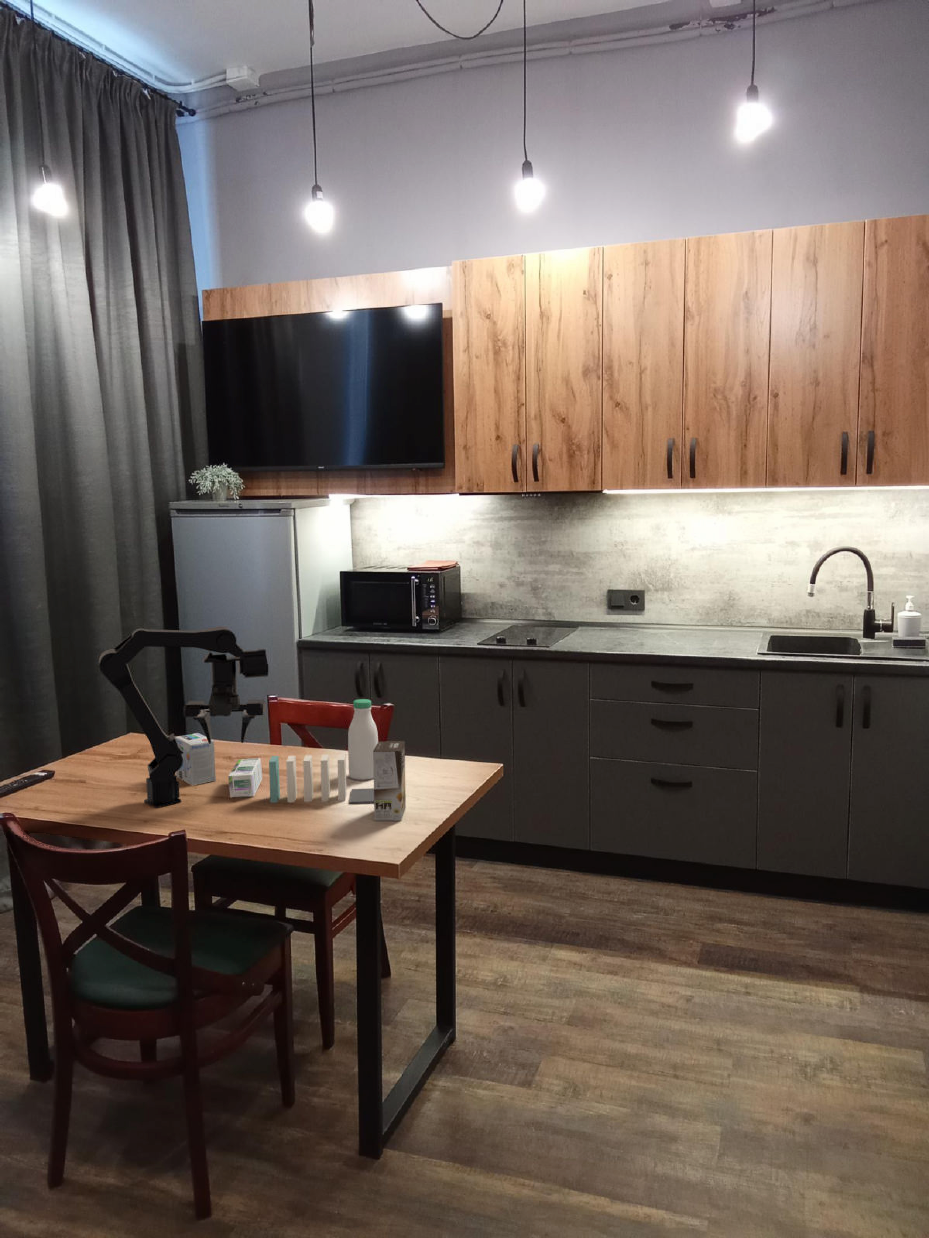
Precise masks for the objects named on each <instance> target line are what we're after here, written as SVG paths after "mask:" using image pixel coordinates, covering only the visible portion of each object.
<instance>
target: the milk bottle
mask: <svg viewBox="0 0 929 1238" xmlns="http://www.w3.org/2000/svg"><path fill="white" fill-rule="evenodd" d="M352 706H353V710H354V712H353V716H352V717H353V718H352V720H351V722H350V724H349V727H348V735H347V736H348V737H347V745H348V747H347V748H348V749H347V751H348V752H347V753H348V754H347V755H348V775H349V778H351V779H353V780H355V781H356V780H357V781H367V780H372V779H373V780H374V762H373V750H374V748H375V747H376V745H377V743H378V742H379V736H378V735H379V734H378V729H377V724H376V722H375V720H374V719H373V716H372V712H371V710H372V700H370V699H366V698H360V699H355V700H354V701H353V704H352Z"/></svg>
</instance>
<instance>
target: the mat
mask: <svg viewBox="0 0 929 1238" xmlns="http://www.w3.org/2000/svg"><path fill="white" fill-rule="evenodd" d="M354 804H355V805H356V804H361V805H362V804H374V787H373V788H372V787H371V788H352V789H351V791H350V797H349V805H354Z"/></svg>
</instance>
